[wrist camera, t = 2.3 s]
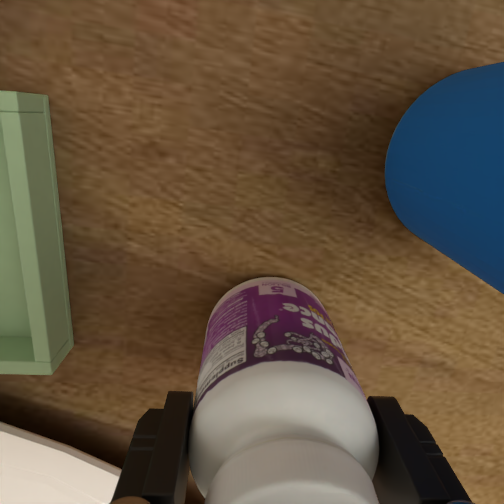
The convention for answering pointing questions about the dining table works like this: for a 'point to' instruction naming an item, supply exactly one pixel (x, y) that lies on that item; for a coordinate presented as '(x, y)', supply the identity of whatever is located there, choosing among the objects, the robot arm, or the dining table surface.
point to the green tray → (31, 242)
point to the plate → (51, 471)
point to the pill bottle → (279, 404)
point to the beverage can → (454, 170)
